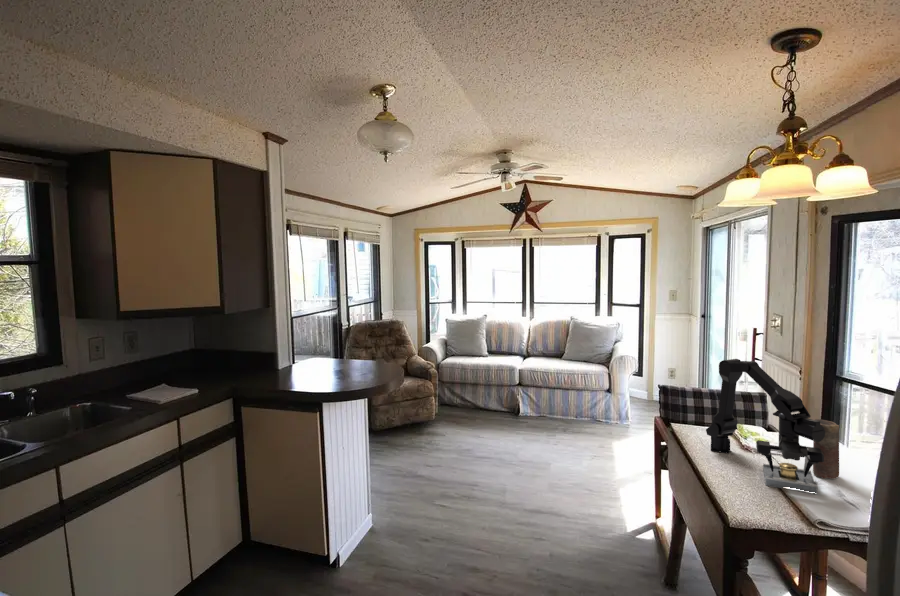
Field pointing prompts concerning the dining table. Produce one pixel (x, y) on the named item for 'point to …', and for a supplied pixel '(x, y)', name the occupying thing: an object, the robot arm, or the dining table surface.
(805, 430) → the robot arm
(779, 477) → the jig
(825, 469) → the candle
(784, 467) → the gold flared round piece
